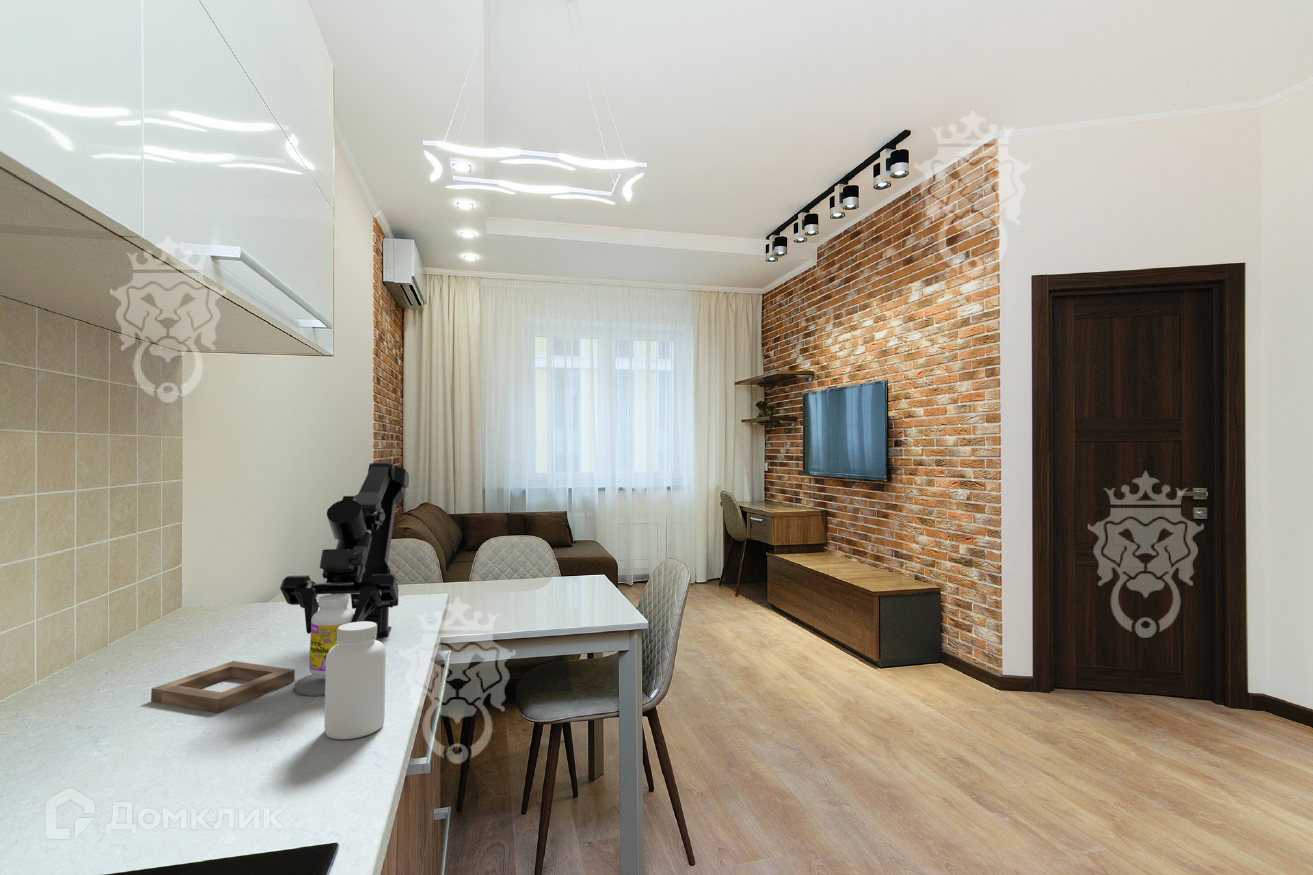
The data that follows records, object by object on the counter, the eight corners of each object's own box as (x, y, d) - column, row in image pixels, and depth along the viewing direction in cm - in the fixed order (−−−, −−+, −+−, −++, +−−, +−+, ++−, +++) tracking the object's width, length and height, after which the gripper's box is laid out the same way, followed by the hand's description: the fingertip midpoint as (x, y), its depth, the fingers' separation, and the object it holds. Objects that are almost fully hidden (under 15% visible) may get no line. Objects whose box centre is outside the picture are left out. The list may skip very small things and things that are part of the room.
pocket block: (232, 671, 112) (233, 660, 112) (294, 680, 108) (294, 669, 108) (150, 701, 98) (151, 688, 99) (217, 712, 95) (218, 699, 95)
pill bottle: (354, 713, 95) (357, 616, 95) (396, 722, 92) (399, 621, 93) (310, 735, 88) (313, 629, 88) (354, 745, 85) (357, 636, 85)
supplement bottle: (299, 674, 105) (302, 599, 106) (331, 661, 112) (333, 590, 112) (330, 679, 103) (332, 603, 103) (360, 666, 109) (363, 594, 110)
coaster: (302, 675, 111) (303, 672, 111) (369, 670, 114) (369, 667, 114) (285, 699, 100) (285, 695, 100) (359, 692, 103) (359, 688, 103)
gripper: (285, 530, 110) (256, 608, 99) (396, 530, 113) (380, 605, 102) (301, 566, 117) (275, 642, 106) (404, 564, 121) (390, 638, 110)
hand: (330, 631), depth 106 cm, fingers closed on supplement bottle, 7 cm apart
